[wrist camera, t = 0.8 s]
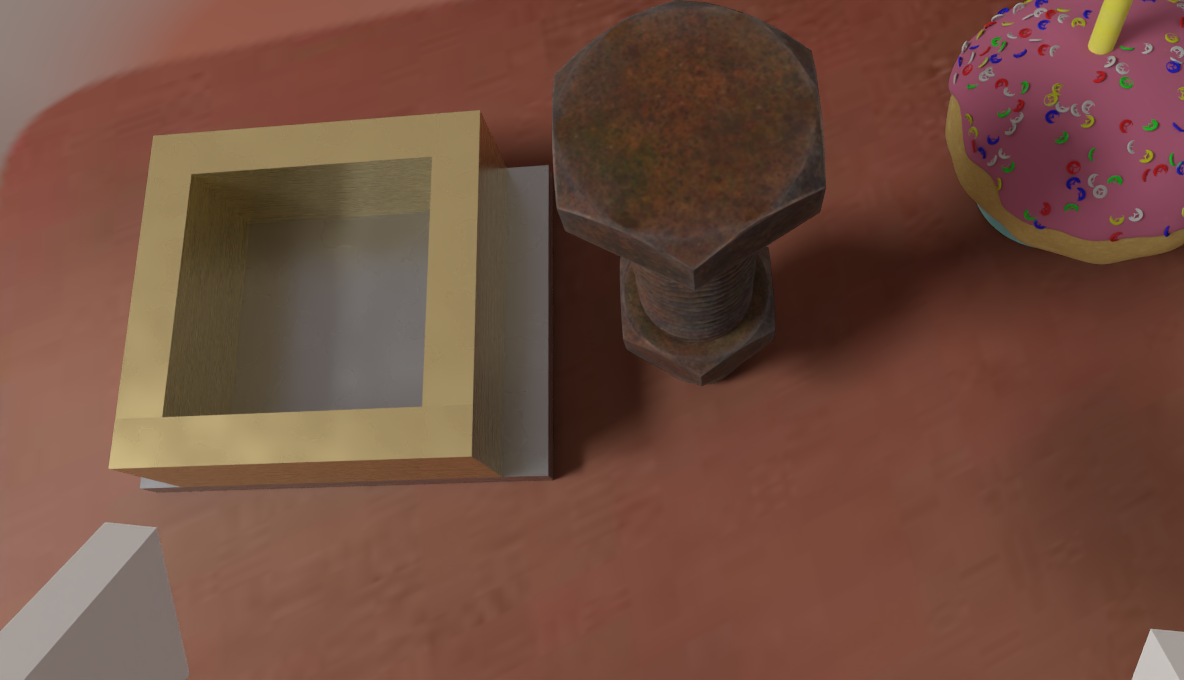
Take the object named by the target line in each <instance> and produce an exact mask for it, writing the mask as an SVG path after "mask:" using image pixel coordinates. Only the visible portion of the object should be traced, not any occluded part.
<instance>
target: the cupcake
mask: <svg viewBox="0 0 1184 680" xmlns="http://www.w3.org/2000/svg"><path fill="white" fill-rule="evenodd" d="M1003 11H1004V12H1005V11H1006V12H1005V13H1004V12H1003ZM1002 12H1003V13H1002ZM1001 13H1002V14H1001ZM965 45H966V46H965ZM949 91H950V93H951V94H952V95H951V98H950V102H949V107H948V113H947V120H946V130H945V134H946V142H947V146H948V149H949V152H950V154H951V157H952V161H953V165H954V169H955V172H956V175H957V178H958V180H959V182H960V184H961V186H962V187H963V189H964V190H965V191H966V192H967V194H968V195H969V196H970V197H971V198H972V199H973V200H974V201H975V202H976V203H977V205H978V207H979V209H980V211H981V213H982V214H983V215H984V217H985V218H986V219H987V221H988V222H989V223H990V224H991V225H992V226H993V227H994V228H995V229H997V230H998V231H999V232H1000V233H1002V234H1003V235H1005V236H1006V237H1008V238H1010V239H1012V240H1014V241H1016V242H1018V243H1021V244H1023V245H1026V246H1030V247H1034V248H1039V249H1042V250H1046V251H1049V252H1053V253H1056V254H1060V255H1063V256H1067V257H1070V258H1073V259H1076V260H1080V261H1083V262H1087V263H1093V264H1111V263H1117V262H1121V261H1125V260H1129V259H1134V258H1140V257H1146V256H1152V255H1157V254H1162V253H1165V252H1169V251H1171V250H1174V249H1176V248H1178V247H1180V246H1182V245H1183V244H1184V0H1026V1H1024V2H1023V3H1018V4H1016V5H1015V6H1014V8H1012V9H1010V10H1009V9H1008V8H1004V9H1002V10H1000V11H999V12H998V14H997V15H996V16H994V17H993V18H992V22H989V23H987V24H986V25H985V26H984V28H983V29H982V30H981V31H980V32H979V33H978V34H976V35H975V36H974V37H973V38H972V39H971V40H970V41H969V42H968V41H966V42H965V43H964V44H963V47H962V52H961V53H960V55H959V57H958V59H957V61H956V63H955V65H954V67H953V69H952V72H951V75H950V79H949Z"/></svg>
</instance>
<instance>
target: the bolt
mask: <svg viewBox="0 0 1184 680" xmlns="http://www.w3.org/2000/svg"><path fill="white" fill-rule="evenodd" d="M552 151H553V172H554V184H555V195H556V207H557V211H558V213H559V216H560V219H561V221H562V224H563V227H564V229H565V231H566V232H568V233H570V234H573V235H575V236H577V237H579V238H581V239H583V240H586V241H588V242H590V243H592V244H594V245H596V246H599V247H601V248H603V249H605V250H607V251H609V252H612V253H614V254H616V255H618V256H620V257H621V258H620V298H621V319H622V332H623V341H624V344H625V347H626V349H627V350H628V351H630V352H632V353H633V354H635V355H637V356H638V357H640V358H642V359H643V360H645V361H647V362H649V363H651V364H653V365H655V366H656V367H658V368H660V369H662V370H664V371H666V372H669V373H670V374H671V375H672V376H674V377H676V378H678V379H680V380H682V381H685V382H689V383H695V384H697V385H700V386H703V385H705V384H711V383H715V382H718V381H720V380H722V379H724V378H726V377H727V376H728V375H730V374H731V373H732V372H734V371H735V369H736V368H737V367H738V366H739V365H740V364H742V363H743V362H745V361H746V360H748V359H749V358H751V357H752V356H754V355H755V354H756V353H758V352H759V351H760V350H762V349H763V348H764V347H766V346H767V345H768V344H770V343H771V342H772V341H773V339H774V334H775V311H774V297H773V284H772V273H771V263H770V256H769V248H768V247H766V246H767V245H769V244H770V243H772V242H773V241H775V240H777V239H778V238H780V237H781V236H783V235H785V234H786V233H788V232H789V231H791V230H792V229H794V228H796V227H797V226H799V225H800V224H802V223H804V222H805V221H807V220H808V219H810V218H812V217H813V216H815V215H816V214H818V213H820V211H821V207H822V202H823V198H824V194H825V189H826V177H825V149H824V136H823V123H822V115H821V107H820V99H819V90H818V82H817V74H816V69H815V64H814V60H813V55H812V51H811V50H809V49H808V48H806V47H805V46H804V45H802V44H801V43H799V42H798V41H796V40H795V39H793V38H792V37H790V36H789V35H787V34H786V33H784V32H783V31H781V30H779V29H777V28H775V27H773V26H771V25H770V24H768V23H766V22H764V21H762V20H760V19H758V18H755V17H753V16H750V15H748V14H745V13H742V12H739V11H736V10H733V9H730V8H727V7H724V6H719V5H715V4H710V3H706V2H696V1H685V0H675V1H672V2H668V3H665V4H661V5H658V6H655V7H651V8H649V9H646V10H644V11H642V12H639V13H637V14H635V15H632V16H630V17H628V18H626V19H625V20H623V21H621V22H620V23H618V24H616V25H614V26H613V27H611V28H610V29H608V30H607V31H605V32H604V33H602V34H601V35H599V36H598V37H596V38H595V39H594V40H593V41H591V42H590V43H589V44H588V45H586V46H585V47H584V48H583V49H581V50H580V51H579V52H578V53H577V54H576V55H575V56H574V57H572V58H571V59H570V60H569V61H568V62H567V63H566V64H565V65H564V66H563V67H562V68H561V69H560V70H559V71H558V72H557V73H556V74H555V76H554V85H553V95H552Z"/></svg>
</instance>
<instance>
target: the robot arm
mask: <svg viewBox="0 0 1184 680" xmlns="http://www.w3.org/2000/svg"><path fill="white" fill-rule="evenodd" d="M189 675H190V674H189V669H188V665H187V660H186V656H185V651H184V647H183V642H182V638H181V634H180V629H179V625H178V620H177V616H176V611H175V607H174V602H173V598H172V593H171V589H170V584H169V580H168V575H167V571H166V566H165V562H164V557H163V553H162V548H161V544H160V539H159V535H158V530H157V527H147V526H137V525H128V524H118V523H108V522H105V523H104V524H103V525H102V526H101V527H100V528H99V529H98V530H97V531H96V532H95V533H94V534H93V535H92V536H91V537H90V538H89V539H88V541H87V542H86V543H85V544H84V545H83V546H82V547H81V548H80V549H79V550H78V551H77V552H76V553H75V554H74V555H73V556H72V557H71V558H70V559H69V560H68V561H67V562H66V563H65V564H64V566H63V567H62V568H61V569H60V570H59V571H58V572H57V573H56V574H55V575H54V576H53V577H52V578H51V579H50V580H49V581H48V582H47V583H46V584H45V585H44V586H43V587H42V588H41V589H40V590H39V592H38V593H37V594H36V595H35V596H34V597H33V598H32V599H31V600H30V601H29V602H28V603H27V604H26V605H25V606H24V607H23V608H22V609H21V610H20V611H19V612H18V613H17V614H16V615H15V617H14V618H13V619H12V620H11V621H10V622H9V623H8V624H7V625H6V626H5V627H4V628H3V629H2V630H1V631H0V680H186V679H187V677H188V676H189ZM1132 680H1184V632H1178V631H1169V630H1159V629H1151V630H1150V632H1149V635H1148V638H1147V640H1146V643H1145V646H1144V648H1143V651H1142V654H1141V656H1140V659H1139V662H1138V664H1137V667H1136V670H1135V672H1134V675H1133V678H1132Z"/></svg>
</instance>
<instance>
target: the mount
mask: <svg viewBox="0 0 1184 680" xmlns="http://www.w3.org/2000/svg"><path fill="white" fill-rule="evenodd" d="M109 469H111V470H115V471H119V472H123V473H127V474H131V475H135V476H139V477H141V483H140V489H144V490H149V491H153V492H183V491H215V490H248V489H280V488H312V487H345V486H377V485H409V484H442V483H474V482H506V481H538V480H553V176H552V173H551V170H550V168H549V165H543V166H529V167H515V168H507V167H506V165H505V163H504V161H503V158H502V156H501V154H500V152H499V150H498V148H497V146H496V143H495V141H494V139H493V137H492V135H491V133H490V131H489V128H488V126H487V124H486V122H485V120H484V118H483V116H482V113H481V111H480V110H478V111H465V112H452V113H439V114H427V115H414V116H401V117H388V118H376V119H363V120H350V121H337V122H325V123H312V124H299V125H286V126H274V127H261V128H248V129H235V130H223V131H210V132H197V133H184V134H172V135H159V136H153V143H152V150H151V158H150V165H149V173H148V180H147V187H146V195H145V202H144V210H143V217H142V225H141V232H140V239H139V247H138V254H137V262H136V269H135V277H134V284H133V291H132V299H131V306H130V314H129V321H128V329H127V336H126V344H125V351H124V358H123V366H122V373H121V381H120V388H119V396H118V403H117V410H116V418H115V425H114V433H113V440H112V448H111V455H110V462H109Z"/></svg>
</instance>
